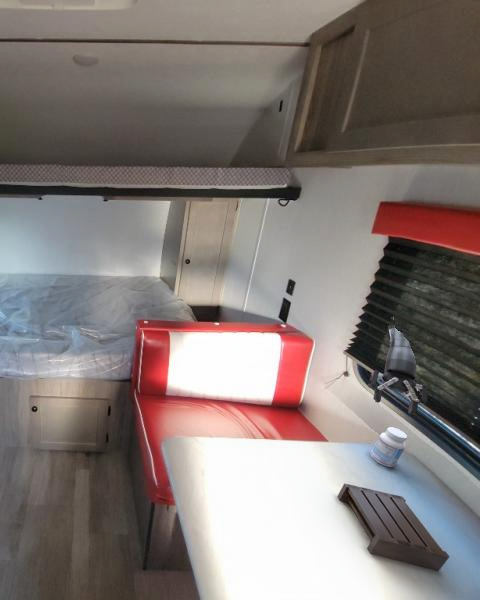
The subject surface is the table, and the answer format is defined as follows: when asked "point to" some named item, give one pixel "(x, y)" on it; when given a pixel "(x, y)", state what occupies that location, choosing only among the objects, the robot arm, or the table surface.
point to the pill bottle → (389, 447)
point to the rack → (393, 527)
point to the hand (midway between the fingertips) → (394, 407)
